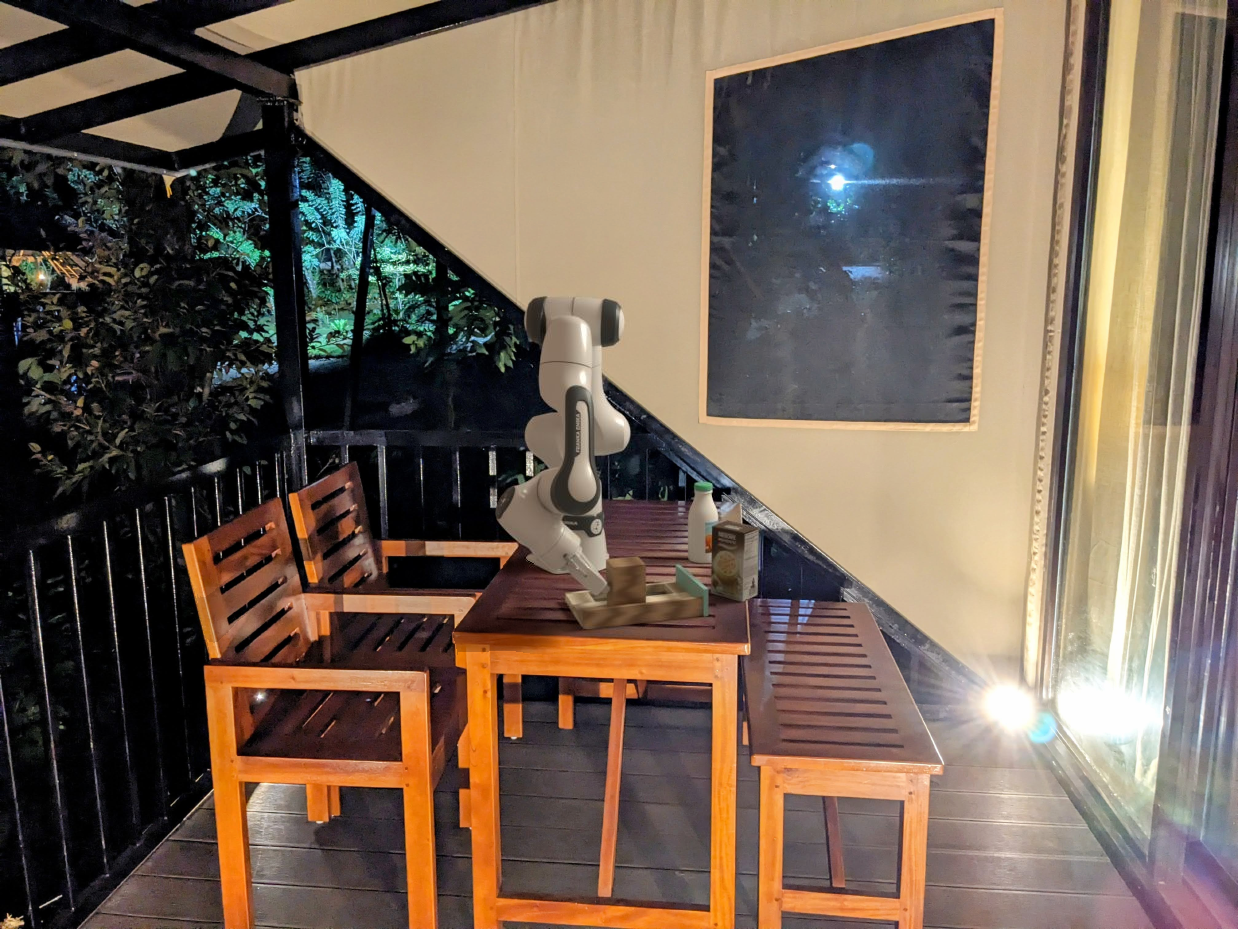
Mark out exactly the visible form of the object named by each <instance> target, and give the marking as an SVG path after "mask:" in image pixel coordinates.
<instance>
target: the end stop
mask: <svg viewBox="0 0 1238 929" xmlns="http://www.w3.org/2000/svg"><path fill="white" fill-rule="evenodd" d="M675 581H676V582H677V583H678V584H679V585H680V586H681V587H682V588H683V589H684V590H685V591H686V592H688V593H689V594H690V595H691V596H692V597H699V596H702V597H703V616H702V617H708V616H709V588H708V587H707V586H706V585H704V583H702V582H701V581H700V580H699V579H698V578H696V577H695V576H694V575H693V574H692V573H691V572H689V571H688V570H687V569H686V568H684V566H682V564H675Z"/></svg>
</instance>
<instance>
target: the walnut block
mask: <svg viewBox="0 0 1238 929" xmlns="http://www.w3.org/2000/svg"><path fill="white" fill-rule="evenodd" d="M646 566H647V565H646V563H645V562H644V561H643V560H642V559H641V558H640V557H638V556H636V555H635V556H628V557H618V558H609V559H606V568H605V574H606V576H605V577H606V578H605V581H606V582H607V584H608V586H609V587H610V591H609V592H608V593H607V605H608V606H609V607H610V606H619V605H628V604H637V603H646V584H647V580H646V579H647V574H646V570H647V568H646Z"/></svg>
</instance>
